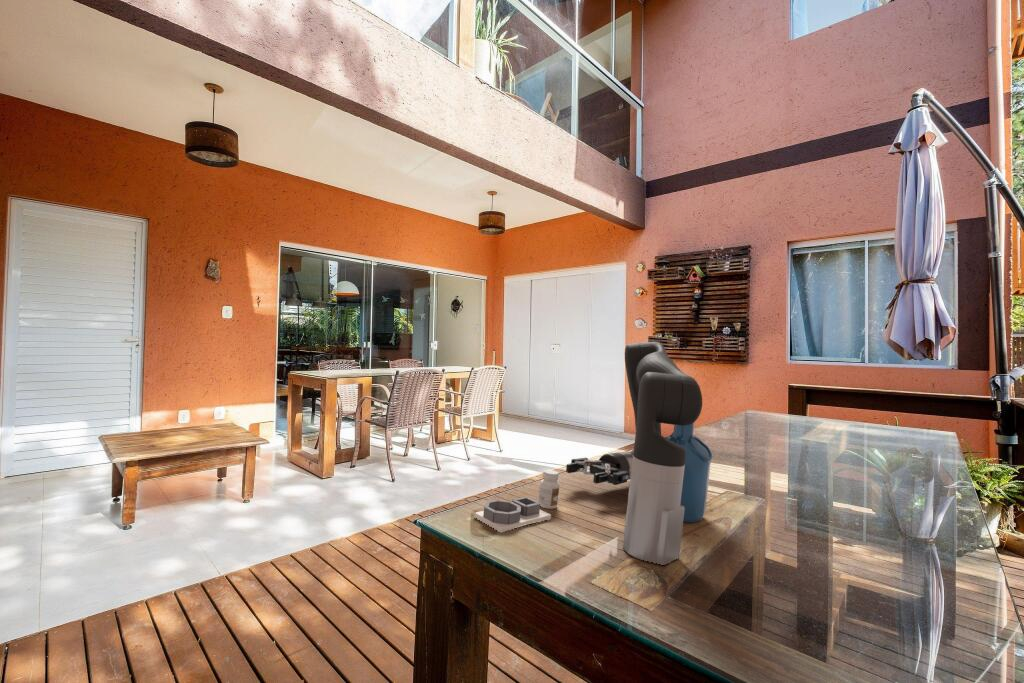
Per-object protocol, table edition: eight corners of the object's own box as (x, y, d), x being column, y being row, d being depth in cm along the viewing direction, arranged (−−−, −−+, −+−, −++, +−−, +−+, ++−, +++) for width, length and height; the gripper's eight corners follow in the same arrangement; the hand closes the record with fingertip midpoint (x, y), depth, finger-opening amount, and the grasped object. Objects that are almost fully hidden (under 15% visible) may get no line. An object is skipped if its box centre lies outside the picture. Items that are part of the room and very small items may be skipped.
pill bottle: (555, 510, 99) (559, 475, 99) (536, 507, 100) (540, 472, 100) (557, 504, 103) (561, 471, 103) (539, 500, 104) (542, 467, 104)
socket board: (550, 519, 94) (552, 505, 94) (500, 532, 84) (502, 516, 84) (523, 506, 99) (525, 493, 99) (474, 517, 90) (476, 502, 90)
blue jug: (634, 507, 107) (648, 383, 107) (663, 499, 116) (676, 384, 116) (689, 529, 97) (704, 391, 97) (716, 519, 106) (730, 392, 106)
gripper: (598, 446, 126) (560, 451, 115) (643, 460, 115) (606, 466, 104) (595, 473, 125) (557, 480, 114) (640, 489, 115) (603, 498, 104)
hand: (580, 473), depth 109 cm, fingers open, 8 cm apart
